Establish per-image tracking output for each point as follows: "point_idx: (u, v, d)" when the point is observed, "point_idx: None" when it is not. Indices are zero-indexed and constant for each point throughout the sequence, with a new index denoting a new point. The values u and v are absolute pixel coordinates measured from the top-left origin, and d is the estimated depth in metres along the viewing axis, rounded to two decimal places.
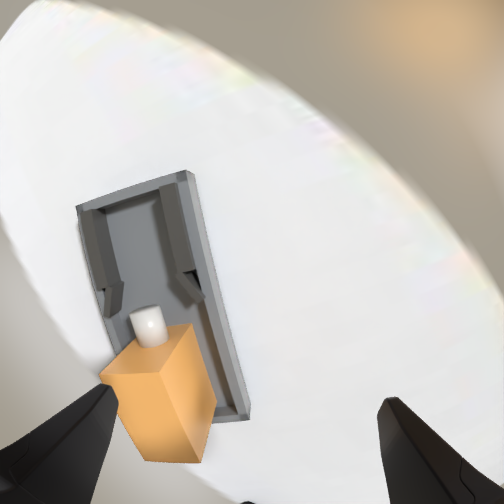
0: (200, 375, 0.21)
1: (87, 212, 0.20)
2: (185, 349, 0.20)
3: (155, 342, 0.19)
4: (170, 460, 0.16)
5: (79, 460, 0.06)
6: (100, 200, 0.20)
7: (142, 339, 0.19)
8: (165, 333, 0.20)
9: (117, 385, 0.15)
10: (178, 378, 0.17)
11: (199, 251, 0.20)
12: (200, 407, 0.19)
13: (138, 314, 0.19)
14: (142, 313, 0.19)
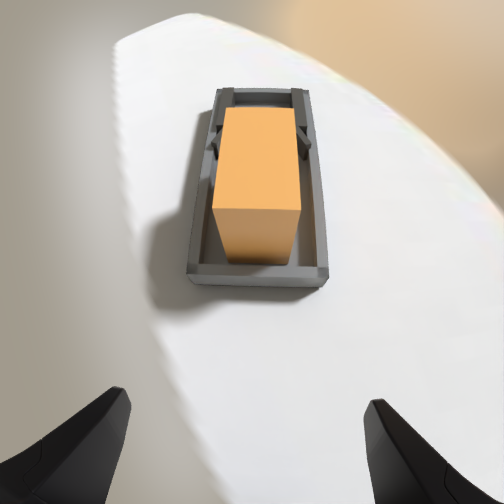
0: None
1: (230, 88, 0.27)
2: None
3: None
4: (256, 205, 0.15)
5: (92, 465, 0.06)
6: (240, 89, 0.28)
7: None
8: None
9: (242, 115, 0.17)
10: None
11: (311, 124, 0.26)
12: None
13: None
14: None
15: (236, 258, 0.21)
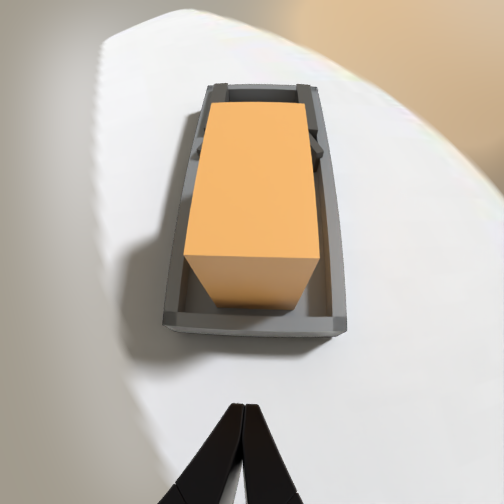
0: None
1: (223, 84, 0.22)
2: None
3: None
4: (251, 250, 0.10)
5: None
6: (235, 85, 0.23)
7: None
8: None
9: (233, 112, 0.12)
10: None
11: (321, 127, 0.21)
12: None
13: None
14: None
15: (227, 304, 0.16)
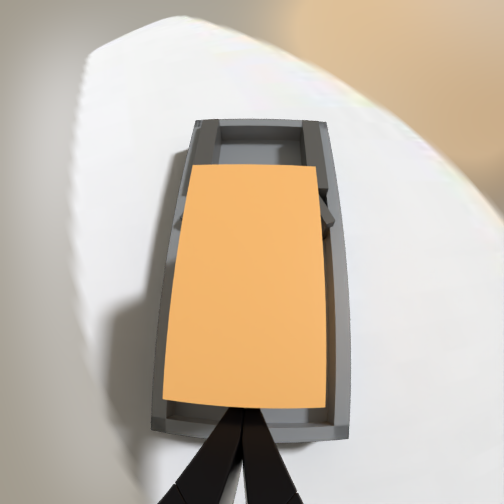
0: None
1: (213, 120, 0.19)
2: None
3: None
4: (242, 399, 0.07)
5: None
6: (229, 121, 0.20)
7: None
8: None
9: (221, 182, 0.10)
10: None
11: (332, 181, 0.18)
12: None
13: None
14: None
15: None
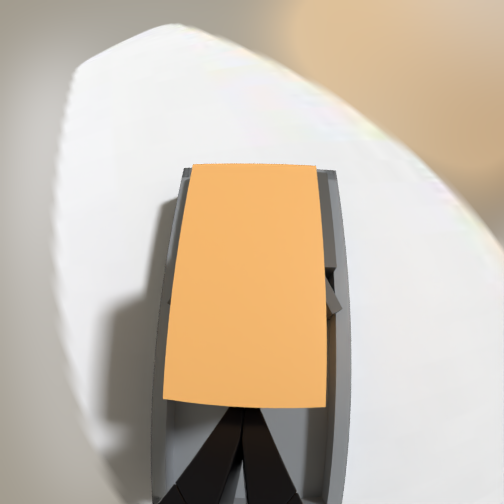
0: None
1: None
2: None
3: None
4: (243, 398, 0.07)
5: None
6: None
7: None
8: None
9: (221, 181, 0.10)
10: None
11: (341, 253, 0.16)
12: None
13: None
14: None
15: None
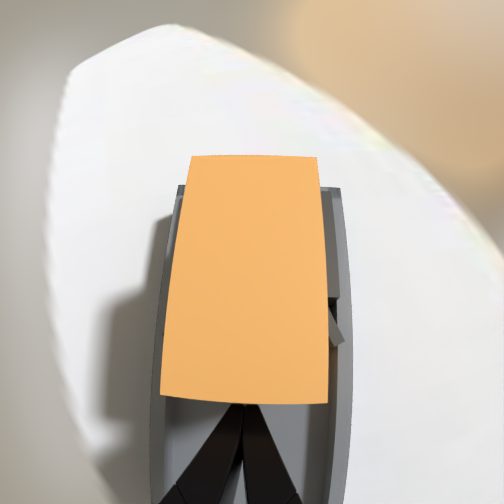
0: None
1: None
2: None
3: None
4: (242, 394, 0.07)
5: None
6: None
7: None
8: None
9: (220, 173, 0.10)
10: None
11: (345, 280, 0.15)
12: None
13: None
14: None
15: None
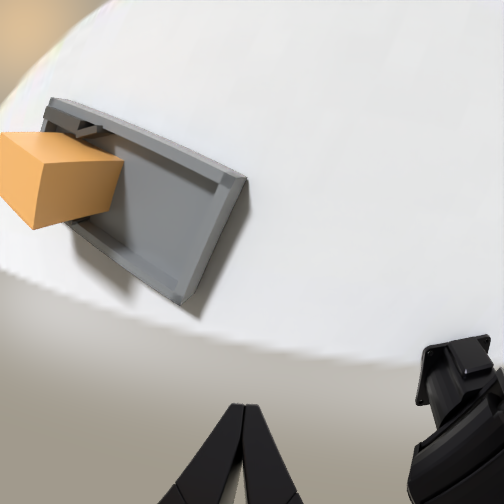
0: (79, 144, 0.19)
1: None
2: (50, 134, 0.18)
3: None
4: (35, 196, 0.14)
5: None
6: None
7: None
8: None
9: None
10: (28, 137, 0.16)
11: (81, 112, 0.19)
12: (68, 150, 0.17)
13: None
14: None
15: (103, 205, 0.21)
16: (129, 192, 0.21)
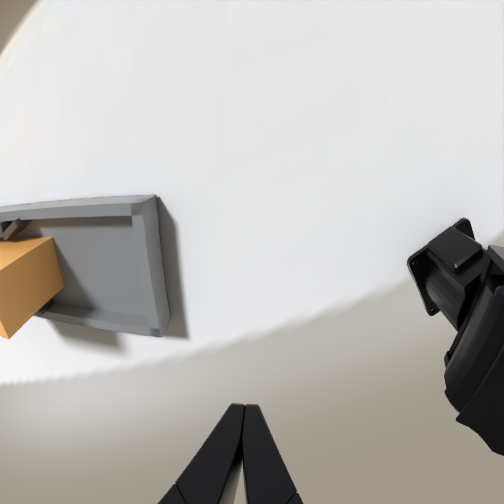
0: (10, 244, 0.18)
1: None
2: None
3: None
4: None
5: None
6: None
7: None
8: None
9: None
10: None
11: None
12: (3, 255, 0.16)
13: None
14: None
15: (56, 284, 0.20)
16: (70, 261, 0.20)
